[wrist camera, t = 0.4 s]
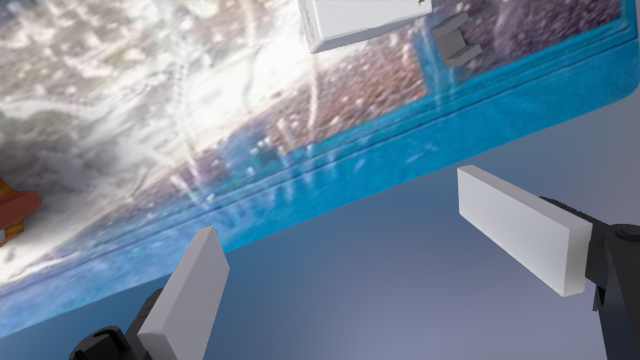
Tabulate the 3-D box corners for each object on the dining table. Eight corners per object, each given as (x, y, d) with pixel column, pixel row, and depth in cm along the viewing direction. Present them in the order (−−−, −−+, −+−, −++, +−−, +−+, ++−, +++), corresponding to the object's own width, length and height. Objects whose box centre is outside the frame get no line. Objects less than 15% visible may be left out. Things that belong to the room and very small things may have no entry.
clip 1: (429, 30, 37) (442, 26, 34) (451, 16, 36) (466, 10, 33) (446, 66, 38) (459, 66, 35) (466, 53, 38) (482, 51, 35)
